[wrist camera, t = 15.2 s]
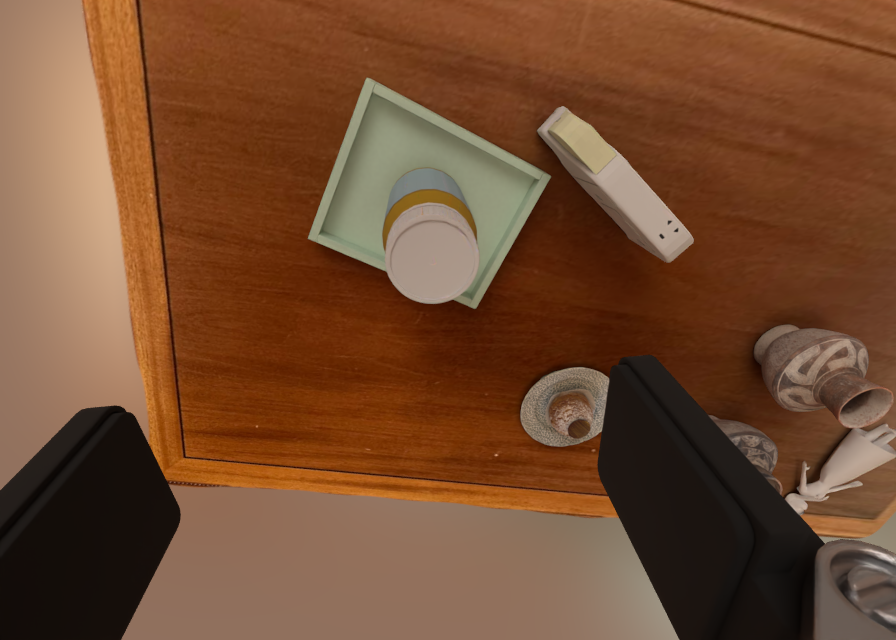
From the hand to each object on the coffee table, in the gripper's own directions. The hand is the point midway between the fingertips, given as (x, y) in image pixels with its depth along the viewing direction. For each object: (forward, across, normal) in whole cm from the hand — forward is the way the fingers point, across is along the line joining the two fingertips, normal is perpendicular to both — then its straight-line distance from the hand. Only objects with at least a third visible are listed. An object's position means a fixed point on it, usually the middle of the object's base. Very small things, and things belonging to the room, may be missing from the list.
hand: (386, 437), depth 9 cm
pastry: (+36, -17, +30) cm, 50 cm away
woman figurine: (+36, -56, +45) cm, 80 cm away
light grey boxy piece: (+36, -18, +2) cm, 40 cm away
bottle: (+36, -2, +4) cm, 36 cm away
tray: (+36, -2, +4) cm, 36 cm away
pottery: (+36, -39, +30) cm, 61 cm away
